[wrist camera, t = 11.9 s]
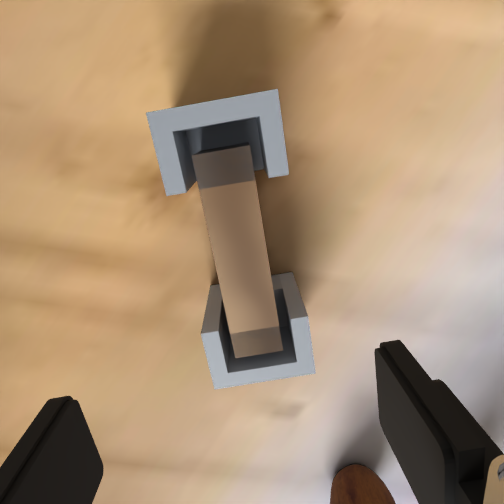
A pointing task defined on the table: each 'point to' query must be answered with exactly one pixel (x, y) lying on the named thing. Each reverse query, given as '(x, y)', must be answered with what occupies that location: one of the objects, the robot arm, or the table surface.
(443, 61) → the table surface
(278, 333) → the rail
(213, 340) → the post
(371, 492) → the wooden figurine
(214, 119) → the post
